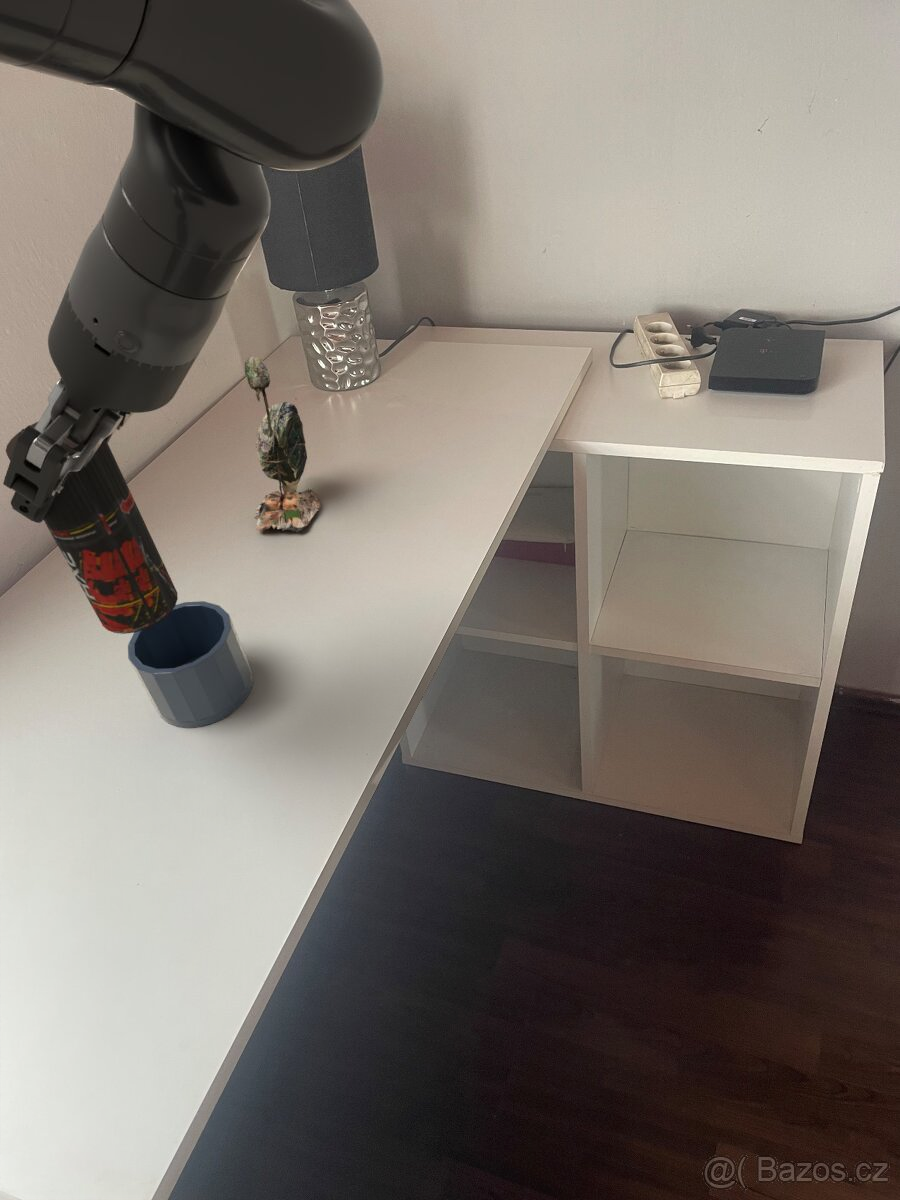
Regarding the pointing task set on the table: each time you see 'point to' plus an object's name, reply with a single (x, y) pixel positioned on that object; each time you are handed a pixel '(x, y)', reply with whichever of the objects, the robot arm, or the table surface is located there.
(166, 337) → the robot arm
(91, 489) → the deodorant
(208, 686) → the holder
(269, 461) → the plant with pod
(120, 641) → the table surface
